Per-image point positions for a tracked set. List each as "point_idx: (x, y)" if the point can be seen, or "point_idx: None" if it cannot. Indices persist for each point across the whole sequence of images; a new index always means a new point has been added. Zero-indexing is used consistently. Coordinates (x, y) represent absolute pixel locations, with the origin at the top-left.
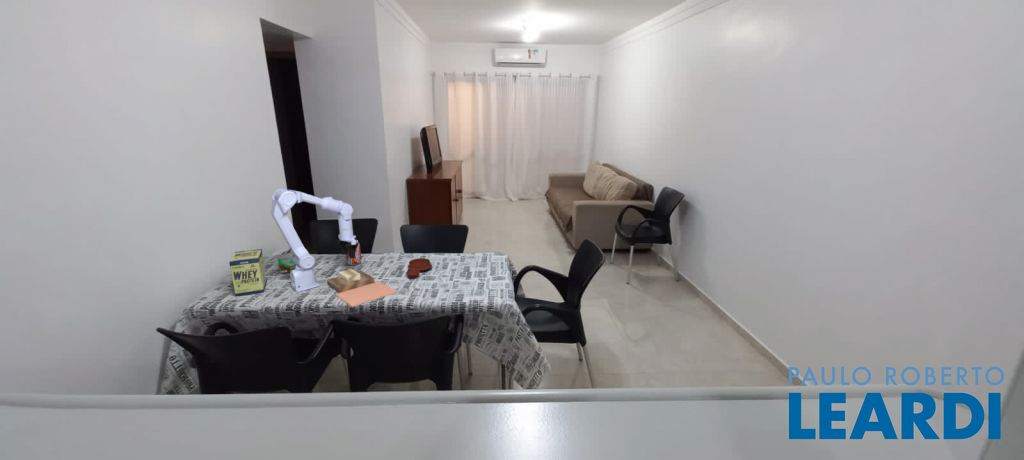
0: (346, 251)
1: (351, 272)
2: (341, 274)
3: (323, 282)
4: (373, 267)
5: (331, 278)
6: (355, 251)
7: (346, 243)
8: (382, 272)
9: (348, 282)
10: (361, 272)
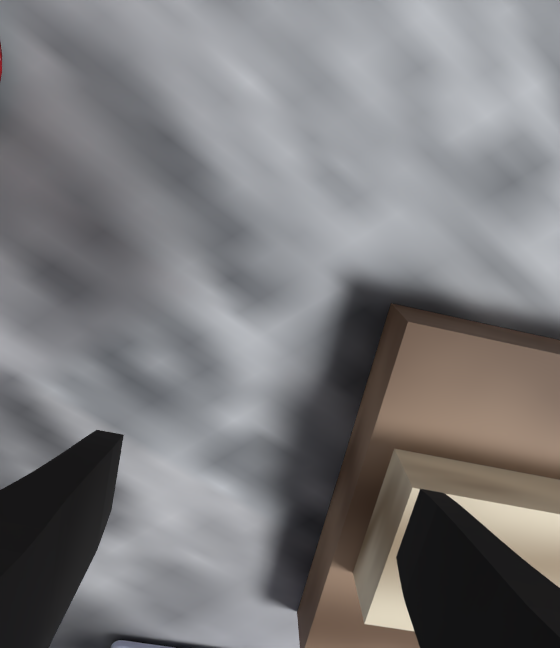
0: (104, 483)
1: (518, 554)
2: None
3: (211, 600)
4: (290, 4)
5: (313, 623)
6: (540, 579)
7: (5, 624)
8: (548, 81)
9: None
10: (463, 359)
